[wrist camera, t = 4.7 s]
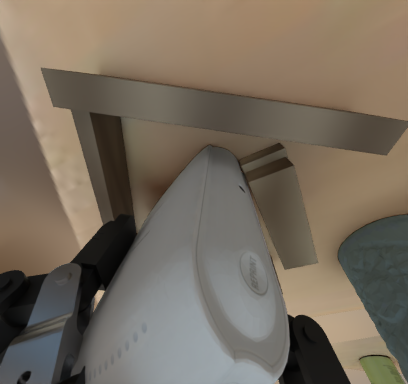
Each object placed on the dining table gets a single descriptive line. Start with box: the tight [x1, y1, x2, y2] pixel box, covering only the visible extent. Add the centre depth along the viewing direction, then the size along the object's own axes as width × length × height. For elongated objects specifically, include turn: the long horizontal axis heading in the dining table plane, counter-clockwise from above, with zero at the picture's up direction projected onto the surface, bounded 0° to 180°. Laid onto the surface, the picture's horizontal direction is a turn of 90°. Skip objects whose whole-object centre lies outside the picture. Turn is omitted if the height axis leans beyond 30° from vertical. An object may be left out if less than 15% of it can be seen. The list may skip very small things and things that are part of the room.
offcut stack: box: [240, 143, 318, 269], centre depth 14 cm, size 3×11×3 cm, turn 27°
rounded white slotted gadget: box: [70, 145, 290, 384], centre depth 9 cm, size 10×4×12 cm, turn 141°
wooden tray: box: [41, 68, 408, 294], centre depth 13 cm, size 16×16×4 cm
